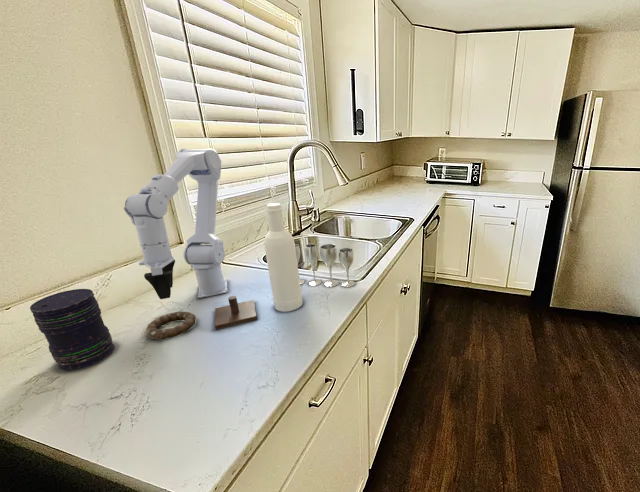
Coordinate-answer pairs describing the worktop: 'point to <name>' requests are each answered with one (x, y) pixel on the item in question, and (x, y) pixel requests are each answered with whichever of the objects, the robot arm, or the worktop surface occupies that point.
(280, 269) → the bottle
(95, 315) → the storage jar
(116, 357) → the worktop surface
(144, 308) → the worktop surface
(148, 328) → the ring
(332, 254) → the goblet set
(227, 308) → the brown peg plate
